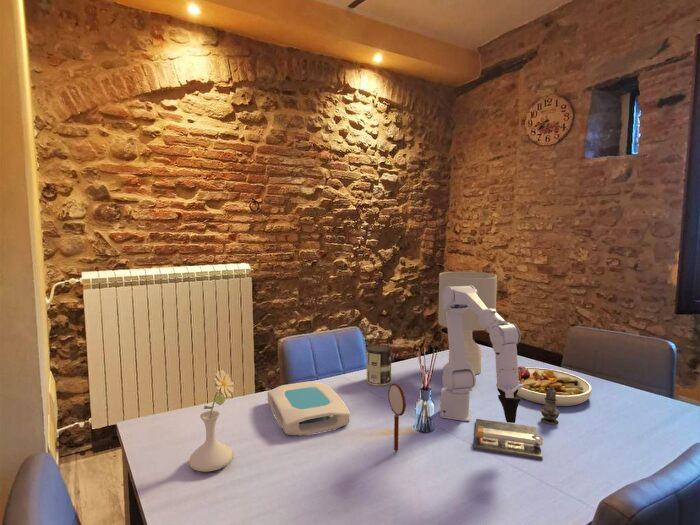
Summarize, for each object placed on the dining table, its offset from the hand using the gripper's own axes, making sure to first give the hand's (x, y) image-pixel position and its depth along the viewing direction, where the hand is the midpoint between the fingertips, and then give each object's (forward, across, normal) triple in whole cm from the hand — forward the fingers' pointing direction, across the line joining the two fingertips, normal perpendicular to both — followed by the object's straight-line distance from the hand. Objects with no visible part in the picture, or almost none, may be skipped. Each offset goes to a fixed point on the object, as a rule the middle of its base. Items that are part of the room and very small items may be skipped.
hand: (509, 418), depth 118 cm
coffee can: (+2, +46, +48) cm, 66 cm away
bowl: (+6, +54, -16) cm, 57 cm away
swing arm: (+8, +7, 0) cm, 11 cm away
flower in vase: (+8, -26, +77) cm, 82 cm away
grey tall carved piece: (+9, +28, -13) cm, 33 cm away
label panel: (+10, +12, +1) cm, 15 cm away
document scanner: (+5, +9, +65) cm, 66 cm away
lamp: (+1, +70, +15) cm, 72 cm away
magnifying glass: (+10, -6, +31) cm, 33 cm away
